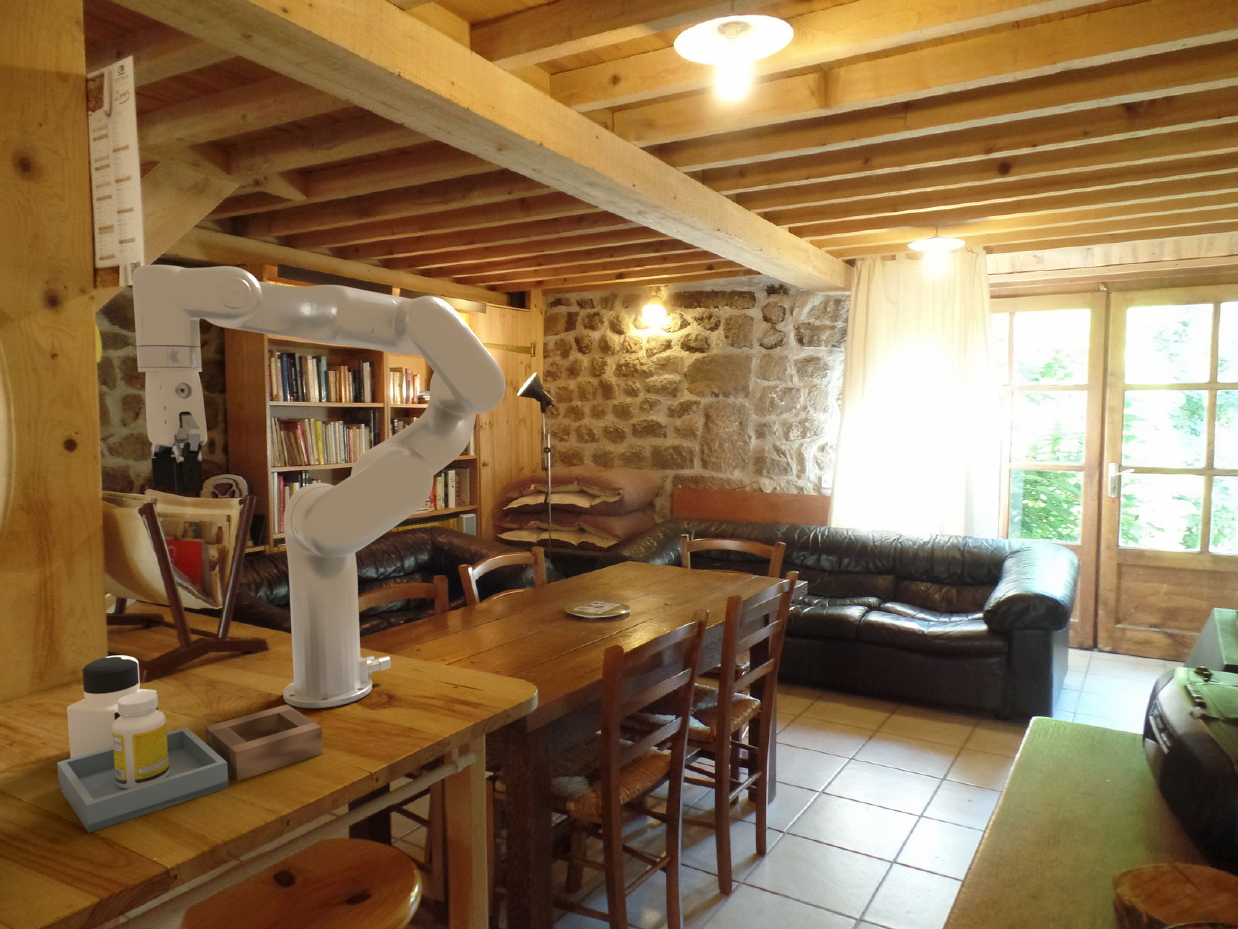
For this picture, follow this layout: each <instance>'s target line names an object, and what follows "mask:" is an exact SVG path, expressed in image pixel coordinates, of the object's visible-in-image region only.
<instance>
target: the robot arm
mask: <svg viewBox="0 0 1238 929" xmlns="http://www.w3.org/2000/svg"><path fill="white" fill-rule="evenodd" d="M131 278H132V296H133V310H134V325H135V326H134V328H135V343H136V358H137V360H136V361H137V362H136V363H137V372H138V373H145V386H144V388H145V416H146V417H145V418H146V430H147V431H146V433H147V438H148V440H149V443H150V445H151V448H150V457H151V458H150V459H151V460H150V461H151V474H152V475H151V477H152V478H151V479H152V486H154V487H156V488H160V487H172V486H173V487H174V486H175V487H174V488H175V493H177V494H187V493H188V494H189V493H196V492H197V493H199V492H202V491H203V490H204V482H203V479H204V478H203V464H202V461H203V456H202V452H201V449H202V446H204V445H205V444H206V443H207V441H208V431H207V430H208V429H207V421H206V412H205V403H204V395H203V387H202V383H201V378H200V374H199V372H200V373H201V372H203V368H202V366H203V365H202V353H201V352H202V350H201V349H202V348H201V333H200V331H201V330H200V319H201V320H202V319H203V320H205V321H207V322H209V323H210V324H212V325H214V326H217V327H221V328H227V329H233V330H239V331H240V330H241V331H244V332H246V331H247V332H254V333H259V334H260V333H261V334H266V335H274V336H280V337H281V336H282V337H286V338H287V337H290V338H295V339H301V340H306V341H310V342H314V343H315V342H316V343H321V344H322V343H324V344H331V345H336V346H337V345H338V346H346V347H352V348H360V349H368V350H372V351H373V350H374V351H379V352H384V353H391V354H399V355H404V356H416V357H417V356H421V357H422V358H423V359H424V360H425V362H426V363H427V365H428V366H429V367H430V368H431V369H432V370H433V373H432V376H431V380H430V383H429V384H430V385H429V397H428V398H429V400H428V403H427V407H426V408H425V410H424V412H423V413H422V414H421V415H420V417H418V418H417V419H415V421H413V422H411V424H409V425H408V426H406V427H405V428H403V429H402V430H399V431H398V432H396V433H395V434H394V435H392V436H390V437H388V438H387V439H385V440H384V441H382V442H380V443H378V444H377V445H375V446H373V447H371V448H370V449H368V450H366V451H365V452H364V453H362V454H361V455H359V457H358V458H357V459H356V461H355V462H354V463H353V466H352V468H351V473H350V476H348V477H347V478H345V479H344V480H342V481H340V482H339V483H338V484H336V485H333V484H329V483H325V482H315V483H311V484H310V483H309V484H307V485H303V486H302V487H300V488H298V490H296V491H295V492H294V493H293V494H292V495H291V496H290V498H289V499H288V500H287V503H286V506H285V508H284V512H283V533H284V541H285V547H286V555H287V564H288V582H289V605H290V606H289V607H290V624H291V626H290V627H291V628H290V629H291V644H292V646H291V649H292V666H293V667H292V669H293V682H290V683H289V684H287V686H286V687H284V689H283V693H282V694H283V696H282V697H283V700H284V702H285V703H286V704H287V705H289V706H291V707H297V708H302V709H304V708H305V709H325V708H333V707H339V706H342V705H347V704H350V703H352V702H355V701H358V700H360V699H362V698H364V697H366V696H367V695H368V694H370V692H371V691H372V689H373V681H372V678H371V677H370V676H372V675H373V673H374V672H378V671H384V670H387V669H390V668H391V666H392V661H391V658H390V656H388V655H386V656H382V657H381V656H380V657H377V658H376V659H375V656H374V655H369V656H366V657H363V656H361V642H360V641H361V640H360V639H361V637H360V619H359V618H360V615H359V614H360V613H359V612H360V610H359V589H358V588H359V585H358V584H359V583H358V582H359V581H358V566H357V557H356V553H357V552H358V551H360V550H362V549H363V548H366V547H367V546H368V545H370V544H372V542H374V541H376V540H378V539H379V538H380V537H382V536H383V535H385V534H386V533H388V532H389V531H390V530H392V529H394V528H395V527H396V526H398V525H399V524H401V523H402V522H403V521H405V520H407V519H408V518H409V517H411V516H412V515H414V514H415V513H416V512H417V511H418V510H419V509H421V507H422V506H424V504H425V503H426V502H427V500H428V499H429V497H430V495H431V493H432V490H433V486H434V476H435V475H436V474H437V473H439V472H440V471H441V470H443V469H444V468H446V467H447V466H448V465H449V464H451V463H452V462H453V461H455V460H456V459H457V458H458V457H459V456H460V455H461V454H462V453H463V452H464V451H465V449H466V448H467V446H468V444H469V443H470V440H471V438H472V435H473V431H474V427H475V423H476V416H477V415H479V414H486V413H489V412H491V411H494V410H495V409H496V408H497V407H498V406H499V405H500V404H501V403H502V401H503V399H504V397H505V395H506V389H507V385H506V384H507V383H506V377H505V373H504V372H503V370H502V368H501V366H500V365H499V362H497V361H496V359H495V358H494V357H493V355H492V354H491V353H490V352H489V350H488V349H487V348H486V347H485V345H484V344H483V343H482V341H481V340H480V339H479V338H478V337H477V336H476V334H475V332H473V330H472V329H471V327H469V325H468V324H467V323H466V321H465V320H464V319H463V318H462V317H461V315H460V314H459V312H458V311H457V310H455V309H454V308H453V306H452V305H450V303H448V302H447V301H445V300H443V299H442V298H440V297H437V296H435V295H434V296H433V295H424V296H419V297H416V298H408V297H404V296H397V295H392V294H387V293H381V292H376V291H369V290H364V289H360V288H355V287H350V286H345V285H338V284H320V285H318V284H317V285H308V286H307V285H305V286H300V285H299V286H298V285H287V284H286V285H285V284H277V283H270V282H263V281H259V280H258V279H257V278H256V277H255V276H254V275H253V274H252V273H250V272H249V271H247V270H246V269H243V268H241V267H237V266H229V265H228V266H227V265H225V266H223V265H222V266H221V265H220V266H210V267H209V266H208V267H207V266H206V267H190V268H189V267H183V266H178V265H171V264H170V265H169V264H145V265H141V266H138V267H136V268H135V270H134V271H133V273H132V277H131Z"/></svg>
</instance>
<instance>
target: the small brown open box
mask: <svg viewBox="0 0 1238 929" xmlns="http://www.w3.org/2000/svg"><path fill="white" fill-rule="evenodd" d="M204 731H205V743H206V744H207V745H208V746H209V747H210V748H211V749H212V750H214V751H215V752H216V753H217V754H218V755H219V756H220V757H222V758H223V759H224V760H225V761H226V762H227V770H228V775H230V777H232V778H233V779H235V781H237V782H239V781H243V780H245V779H248V778H252V777H254V776H259V775H261V774H264V773H267V772H270V771H273V770H276V769H280V768H283V767H285V766H289V765H292V764H295V763H299V762H301V761H304V760H308V759H309V758H314V757H317V756H320V755H322V754H323V755H324V753H323V752H324V748H323V732H322V731H323V728H322V725H320V724H318V723H317V722H315V721H313V720H312V719H310V718H309V717H307V716H306V715H305V714H303V713H301V712H300V711H298V710H296V709H295V708H293V706H291V705H290V704H284V705H280V706H277V707H273V708H269V709H266V710H262V711H258V712H255V713H251V714H247V715H243V716H240V717H237V718H232V719H229V720H226V721H222V722H218V723H214V724H211V725H207V726H205V727H204Z"/></svg>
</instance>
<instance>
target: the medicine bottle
mask: <svg viewBox="0 0 1238 929" xmlns="http://www.w3.org/2000/svg"><path fill="white" fill-rule="evenodd" d="M139 667H140V666H139V661H138V659H136V658H135V657H133V656H128V655H122V654H121V655H118V654H117V655H110V656H105V657H101V658H97V659H95V660H93V661H91V662H89V663H87V664H86V665H85V666H84V667H83V668H82V684H83V696H84V698H82V699H80V700H78V701H76V702H74V703H71V704H70V705H68V706H67V707H66V714H67V726H68V727H67V728H68V739H69V741H68V742H69V754H70V759H71V758H75V757H79V756H82V755H86V754H90V753H94V752H97V751H101V750H105V749H108V748H112V747H113V734H112V725H113V723H114V721H115V720H116V719H117V718H119V717H120V716H121V715H120V714H119V713H118V700H119V699H120V698H122V697H124V696H126V695H129V694H133V693H138V692H154V693H156V694H157V695H158V692H157V690H155V689H148V688H147V689H145V688H140V686H141V684H140V668H139ZM156 710H159V706H158V707H157V708H156Z"/></svg>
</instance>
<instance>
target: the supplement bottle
mask: <svg viewBox="0 0 1238 929" xmlns="http://www.w3.org/2000/svg"><path fill="white" fill-rule="evenodd" d="M157 707H158V708H159V700H158V693H157V694H156V693H154V692H138V693H133V694H129V695H126V696H124V697H122V698H120V699H119V700H118V713H119V714H120V715H121V716H120V717H119V718H117V719H116V720H115V721H114V723H113V725H112V734H113V748H114V762H115V776H116V783H117V785H118V786H119V787H121V788H124V789H131V788H134V787H138V786H141V785H144V784H148V783H151V782H154V781H157V780H161V779H164V778H166V776H167V775H168V773H169V760H168V746H167V733H168V732H167V719H166V716H165V713H163V711H161V710H159V709H158V710H156V708H157Z"/></svg>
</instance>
